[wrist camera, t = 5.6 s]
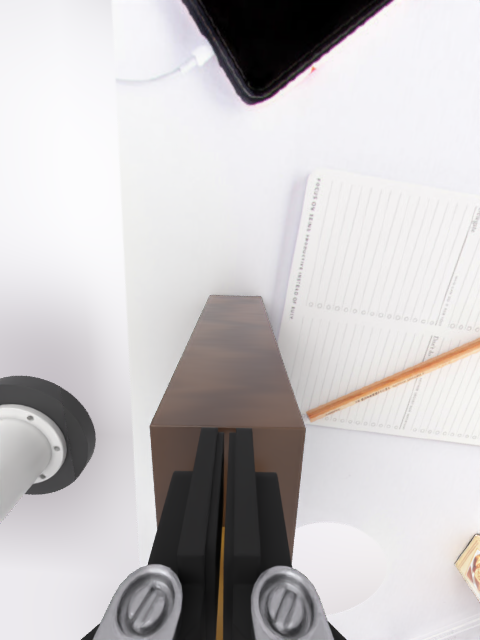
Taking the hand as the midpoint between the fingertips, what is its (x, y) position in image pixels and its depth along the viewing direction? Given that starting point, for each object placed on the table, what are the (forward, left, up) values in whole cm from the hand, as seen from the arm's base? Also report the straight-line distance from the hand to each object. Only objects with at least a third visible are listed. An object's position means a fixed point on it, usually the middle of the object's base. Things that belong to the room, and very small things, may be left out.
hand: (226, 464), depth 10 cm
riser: (0, -7, -26) cm, 27 cm away
